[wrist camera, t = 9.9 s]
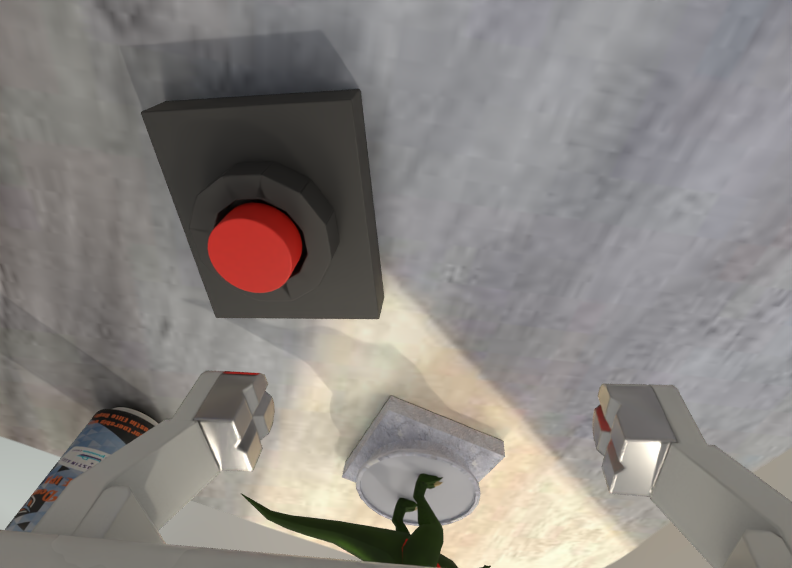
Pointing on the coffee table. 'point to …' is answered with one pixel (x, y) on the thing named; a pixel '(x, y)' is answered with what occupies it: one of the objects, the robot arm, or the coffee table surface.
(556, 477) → the coffee table surface
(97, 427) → the beverage can
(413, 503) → the dinosaur figurine
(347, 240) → the control block
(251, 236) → the stop button
